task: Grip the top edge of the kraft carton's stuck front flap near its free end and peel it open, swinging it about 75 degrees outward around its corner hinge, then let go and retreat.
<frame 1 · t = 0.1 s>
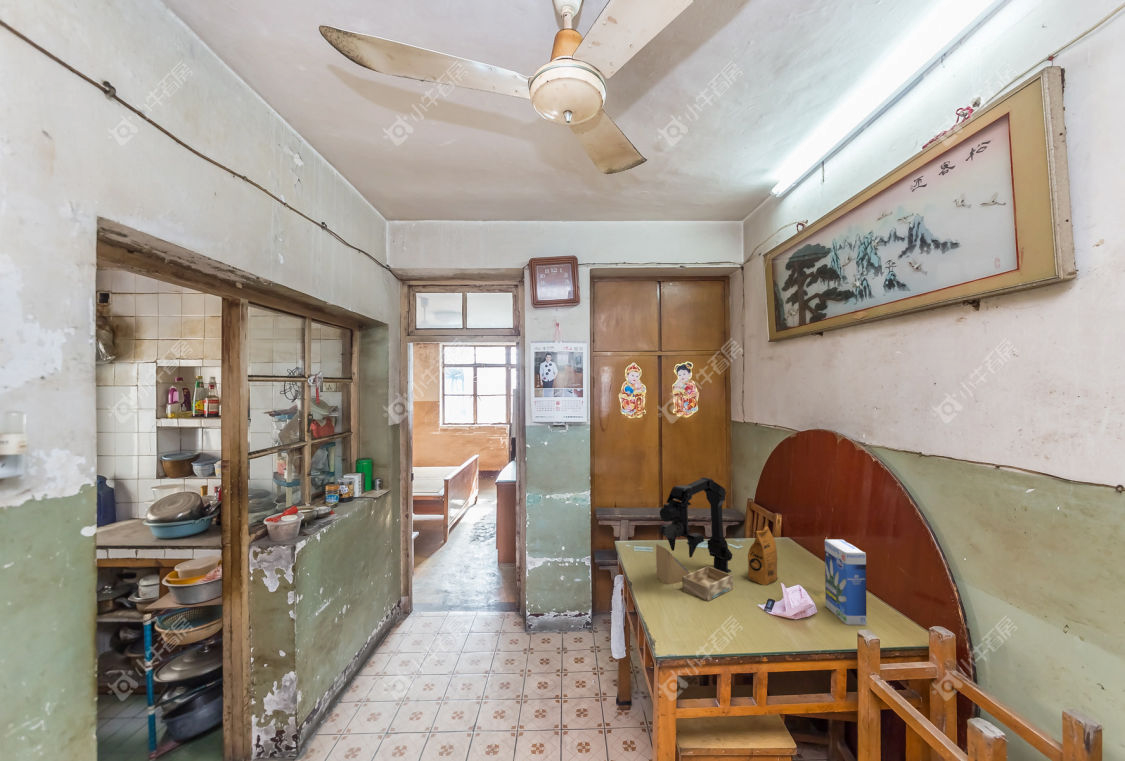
hand: (681, 553, 179), 15 cm above the table, fingers open, 9 cm apart
coffee package: (762, 579, 186), on the table
string lights box: (845, 615, 156), on the table
flap: (720, 587, 173), point 3 cm above the table, hinge at 0.0°
sandwich container: (676, 578, 189), on the table
carton: (707, 589, 178), on the table
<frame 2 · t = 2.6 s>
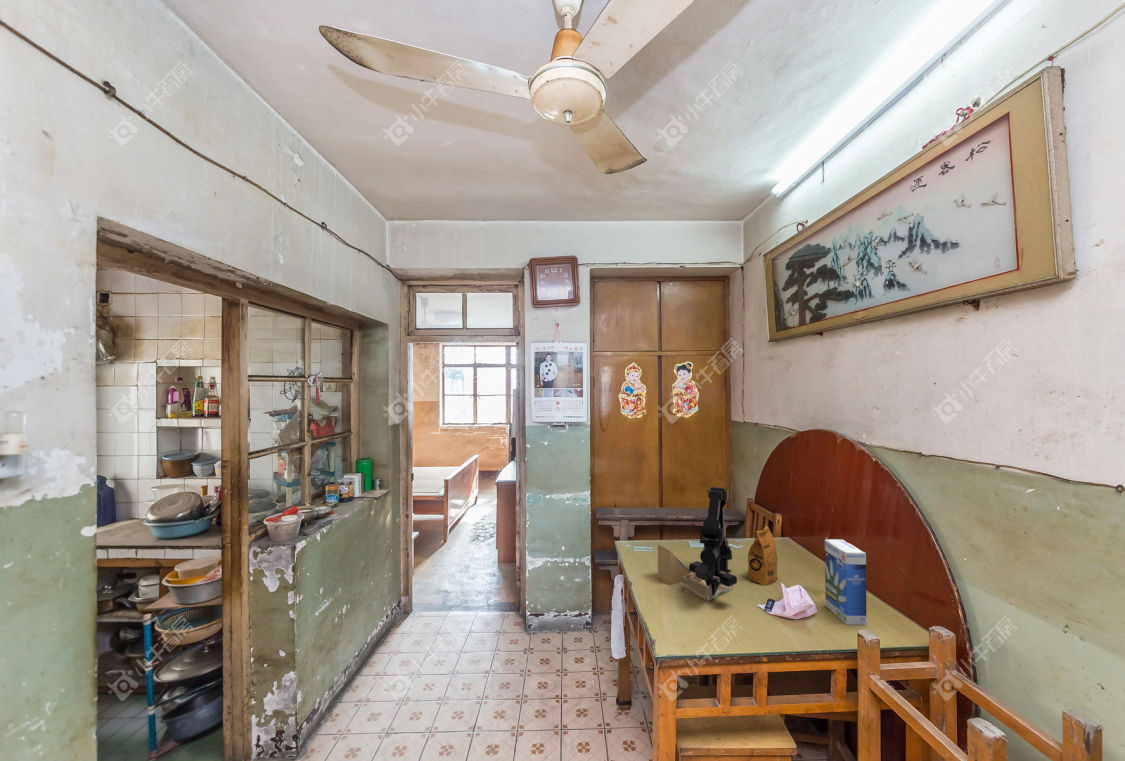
hand: (712, 594, 170), 2 cm above the table, fingers closed, pressing on flap
flap: (720, 587, 173), point 3 cm above the table, hinge at 0.0°, touching gripper
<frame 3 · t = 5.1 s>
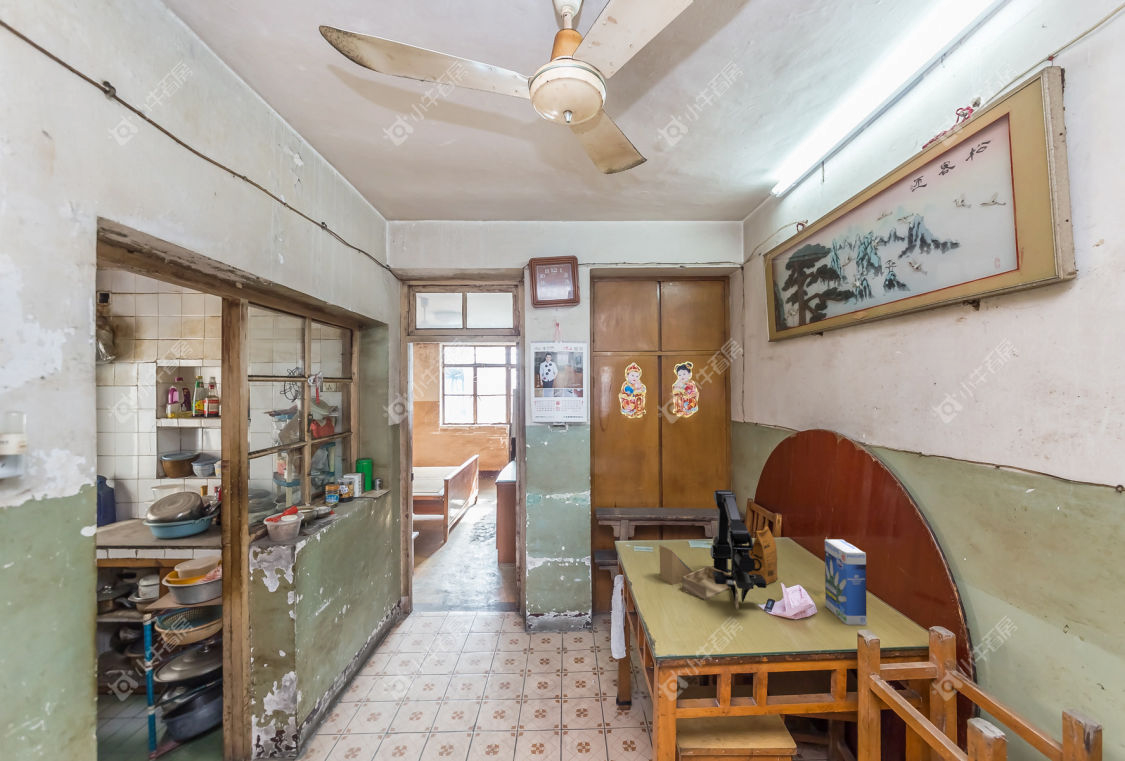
hand: (738, 601, 164), 2 cm above the table, fingers closed
flap: (734, 591, 169), point 3 cm above the table, hinge at 38.0°, touching gripper
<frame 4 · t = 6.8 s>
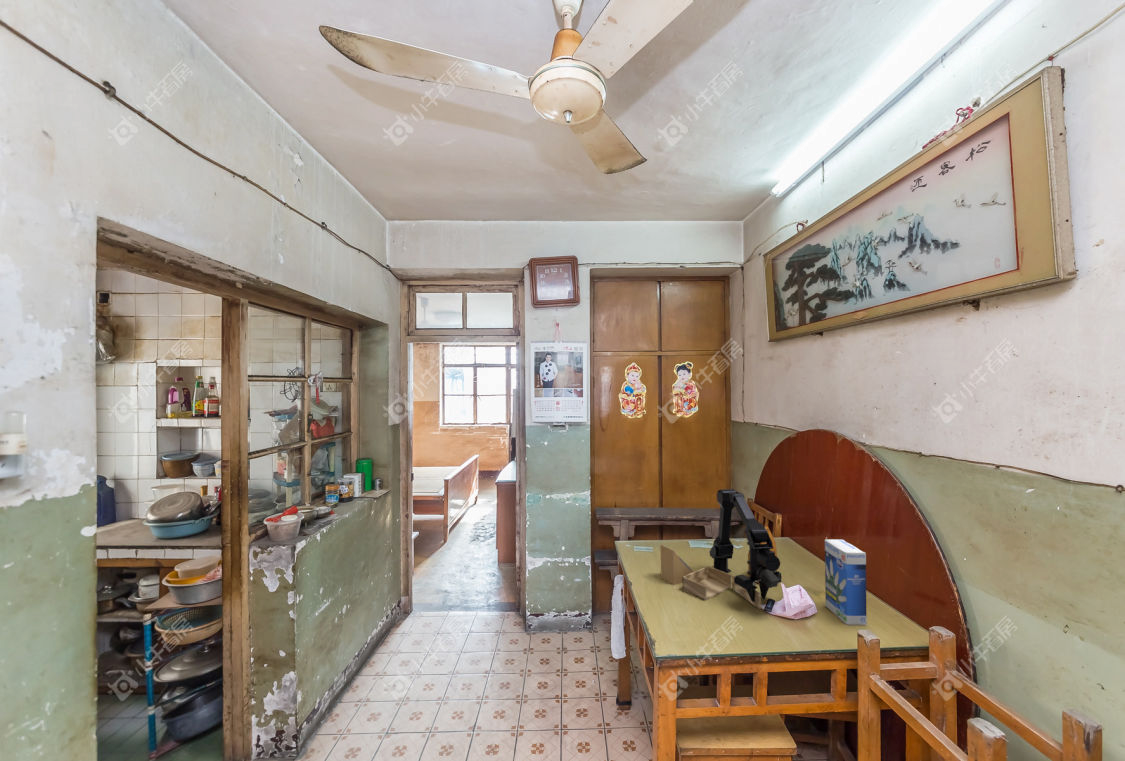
hand: (758, 600, 165), 2 cm above the table, fingers open, 5 cm apart
flap: (745, 591, 169), point 3 cm above the table, hinge at 67.2°
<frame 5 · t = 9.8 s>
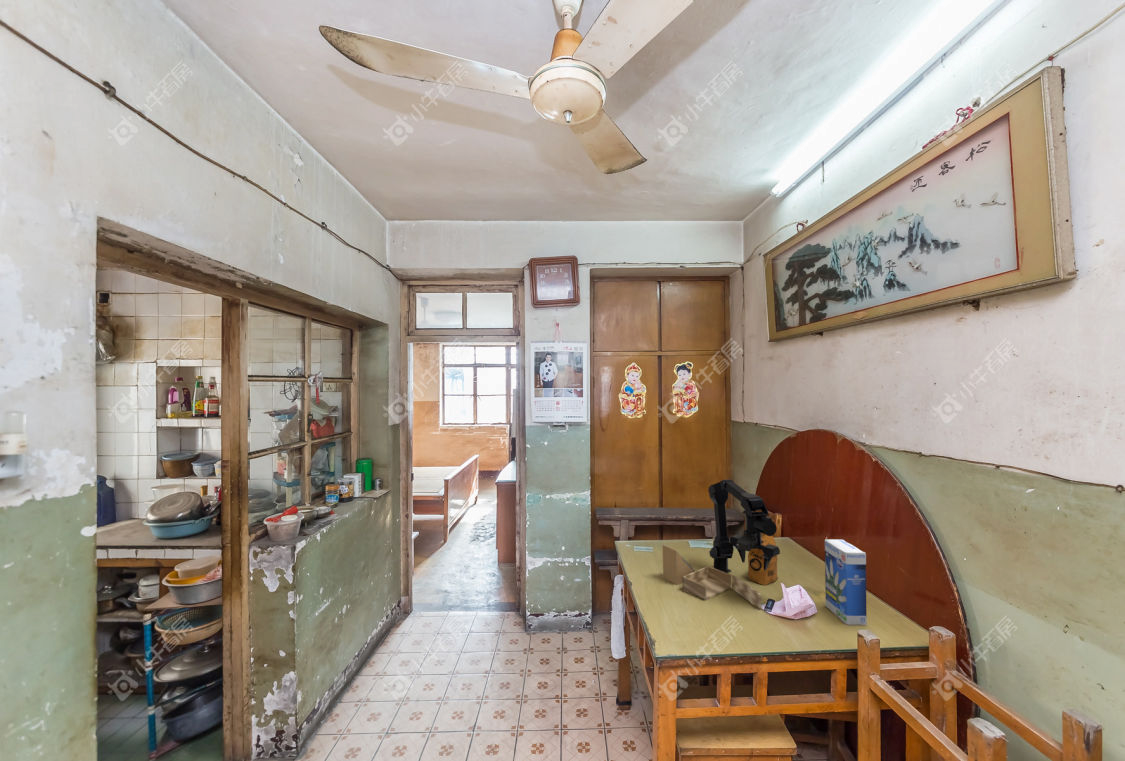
hand: (754, 566, 172), 12 cm above the table, fingers open, 9 cm apart
at the end: flap at +67° (first picture: +0°); the gripper is holding nothing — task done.
